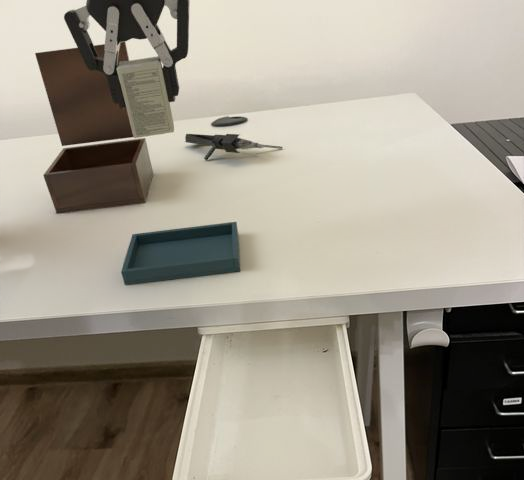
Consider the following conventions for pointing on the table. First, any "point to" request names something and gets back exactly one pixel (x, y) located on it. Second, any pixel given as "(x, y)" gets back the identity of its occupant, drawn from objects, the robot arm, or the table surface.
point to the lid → (82, 97)
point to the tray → (182, 253)
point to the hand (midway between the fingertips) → (147, 103)
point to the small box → (145, 96)
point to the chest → (100, 176)
